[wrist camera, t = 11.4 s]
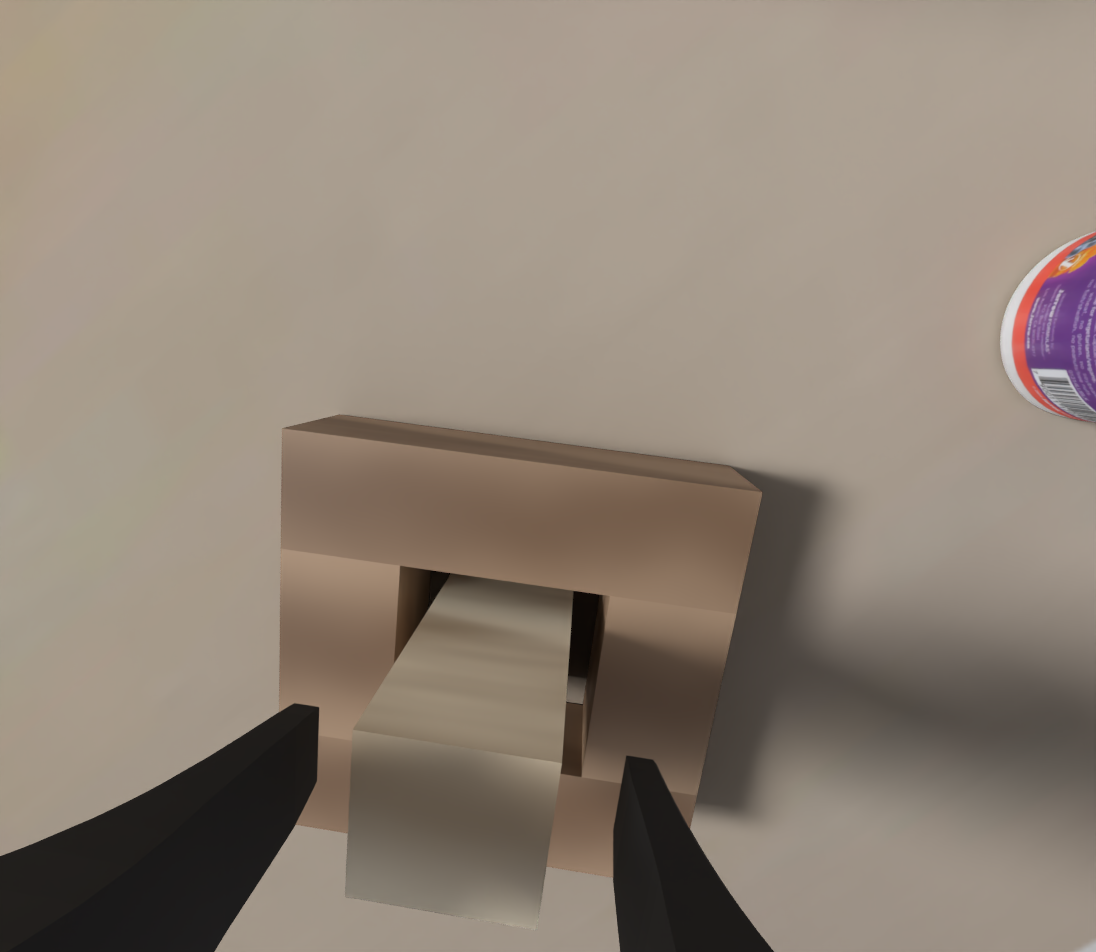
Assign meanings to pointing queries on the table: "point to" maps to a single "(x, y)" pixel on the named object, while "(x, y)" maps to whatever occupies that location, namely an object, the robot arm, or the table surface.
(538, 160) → the table surface
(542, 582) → the socket block
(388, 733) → the peg
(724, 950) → the robot arm
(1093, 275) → the pill bottle
